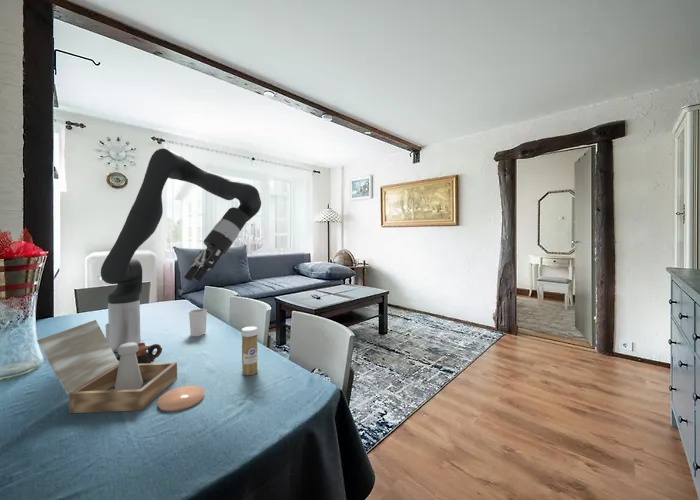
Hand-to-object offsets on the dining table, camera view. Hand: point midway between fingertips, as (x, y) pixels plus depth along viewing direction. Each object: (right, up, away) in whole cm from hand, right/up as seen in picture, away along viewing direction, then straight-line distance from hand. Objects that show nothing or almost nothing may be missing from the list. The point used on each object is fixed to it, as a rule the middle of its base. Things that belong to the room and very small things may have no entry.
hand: (191, 279), depth 88 cm
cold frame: (-13, -28, -12) cm, 33 cm away
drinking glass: (-16, -27, +36) cm, 48 cm away
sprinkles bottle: (+17, -28, 0) cm, 33 cm away
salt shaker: (-10, -29, -12) cm, 32 cm away
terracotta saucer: (+6, -28, -15) cm, 32 cm away
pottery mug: (-19, -28, +5) cm, 34 cm away
